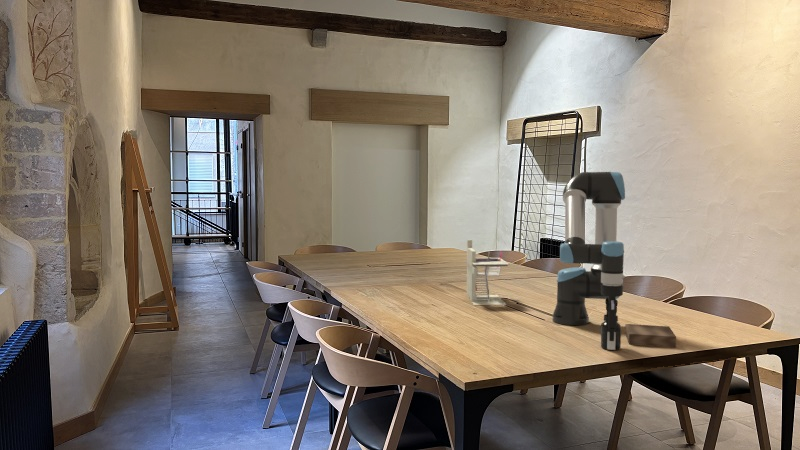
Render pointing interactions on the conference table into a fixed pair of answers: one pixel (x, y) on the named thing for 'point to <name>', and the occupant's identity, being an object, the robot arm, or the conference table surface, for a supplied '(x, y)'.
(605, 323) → the supplement bottle
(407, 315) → the conference table surface
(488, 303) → the white ladder tower
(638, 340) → the walnut base
